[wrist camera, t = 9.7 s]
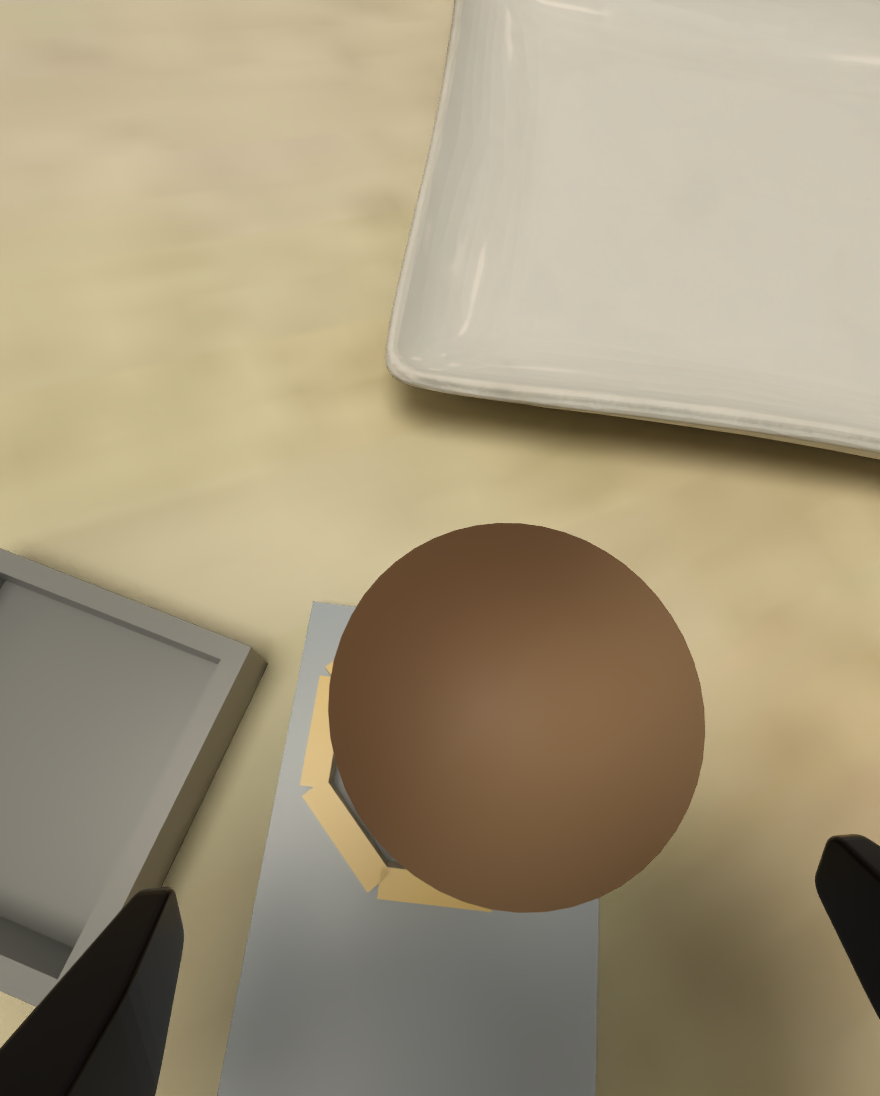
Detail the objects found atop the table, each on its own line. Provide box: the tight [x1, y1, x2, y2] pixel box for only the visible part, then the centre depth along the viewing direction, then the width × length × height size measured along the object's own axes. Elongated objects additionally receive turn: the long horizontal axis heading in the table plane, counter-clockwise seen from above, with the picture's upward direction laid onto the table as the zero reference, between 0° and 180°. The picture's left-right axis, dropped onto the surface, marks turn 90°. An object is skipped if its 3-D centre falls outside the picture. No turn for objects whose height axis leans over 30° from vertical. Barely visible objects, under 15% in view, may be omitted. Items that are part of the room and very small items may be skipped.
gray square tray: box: [0, 548, 267, 1007], centre depth 17 cm, size 9×9×2 cm
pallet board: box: [217, 601, 599, 1096], centre depth 15 cm, size 22×9×3 cm, turn 174°
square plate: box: [386, 0, 880, 459], centre depth 27 cm, size 27×27×4 cm
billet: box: [328, 523, 705, 913], centre depth 13 cm, size 5×5×11 cm
